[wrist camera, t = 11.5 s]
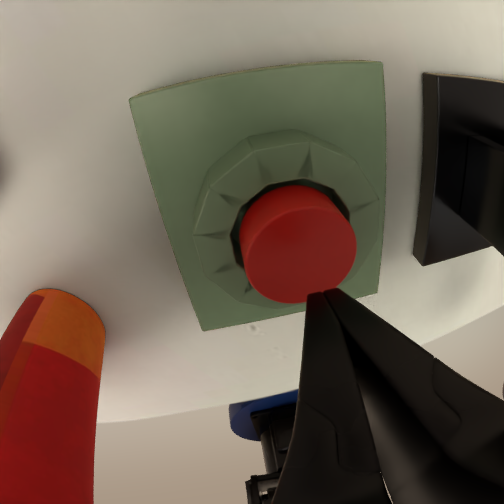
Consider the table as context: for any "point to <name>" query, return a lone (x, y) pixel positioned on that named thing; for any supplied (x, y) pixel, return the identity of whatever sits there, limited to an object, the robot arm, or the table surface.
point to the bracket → (461, 168)
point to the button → (295, 244)
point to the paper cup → (49, 400)
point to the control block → (263, 169)
